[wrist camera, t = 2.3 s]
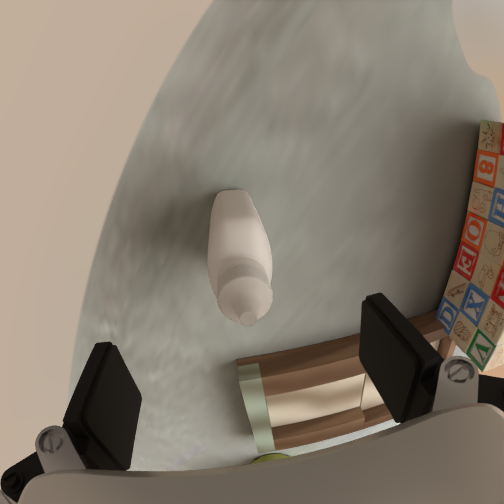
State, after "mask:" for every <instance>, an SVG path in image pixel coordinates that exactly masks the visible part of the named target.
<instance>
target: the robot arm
mask: <svg viewBox="0 0 504 504" xmlns="http://www.w3.org/2000/svg"><path fill="white" fill-rule="evenodd" d="M359 359H360V362H361V364H362V366H363V367H364V369H365V371H366V372H367V374H368V376H369V377H370V379H371V381H372V383H373V384H374V386H375V388H376V389H377V391H378V393H379V395H380V396H381V398H382V400H383V401H384V403H385V405H386V407H387V408H388V410H389V412H390V414H391V415H392V417H393V419H394V421H395V422H396V423H399V422H400V423H401V424H399V425H396V426H394V427H391V428H388V429H386V430H383V431H380V432H377V433H374V434H371V435H368V436H365V437H362V438H359V439H356V440H353V441H350V442H346V443H343V444H340V445H336V446H333V447H329V448H325V449H322V450H318V451H314V452H310V453H305V454H301V455H297V456H292V457H287V458H282V459H277V460H272V461H266V462H261V463H254V464H248V465H241V466H233V467H224V468H214V469H202V470H187V471H126V470H128V469H129V468H130V465H131V459H132V452H133V446H134V440H135V434H136V429H137V423H138V418H139V412H140V407H141V402H142V397H141V393H140V391H139V389H138V388H137V386H136V384H135V382H134V380H133V378H132V376H131V374H130V372H129V370H128V368H127V366H126V364H125V362H124V360H123V358H122V356H121V354H120V352H119V350H118V348H117V346H116V345H113V344H112V343H111V342H101V343H96V344H95V346H94V348H93V350H92V352H91V354H90V357H89V359H88V361H87V363H86V365H85V368H84V370H83V372H82V374H81V377H80V379H79V381H78V384H77V386H76V388H75V391H74V393H73V396H72V398H71V401H70V403H69V405H68V408H67V411H66V413H65V416H64V418H63V422H64V423H63V426H62V427H60V426H49V427H47V428H45V429H44V430H42V431H41V432H40V433H39V435H38V436H37V438H36V442H35V447H36V452H34V453H33V454H31V455H30V456H28V457H26V458H25V459H23V460H22V461H20V462H18V463H17V464H15V465H14V466H12V467H10V468H9V469H7V470H6V471H5V472H4V474H3V475H2V478H1V490H0V504H504V378H498V377H491V376H486V375H480V374H479V372H478V367H477V366H476V364H475V363H474V362H473V361H472V360H470V359H468V358H466V357H462V356H453V357H449V358H447V359H446V360H444V359H443V358H442V357H441V355H440V354H439V353H438V352H437V351H436V350H435V349H434V347H433V346H432V345H431V344H430V343H429V342H428V341H427V340H426V339H425V337H424V336H423V335H422V334H421V333H420V332H419V331H418V330H417V329H416V328H415V326H414V325H413V324H412V323H411V322H410V321H408V320H407V319H406V318H405V317H404V316H403V315H402V314H401V312H400V311H399V310H398V309H397V308H396V307H395V306H394V305H393V304H392V303H391V302H390V301H389V300H388V299H387V298H386V297H385V296H384V295H383V294H382V293H376V294H372V295H369V296H367V297H366V300H364V301H363V302H362V312H361V330H360V344H359Z"/></svg>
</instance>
